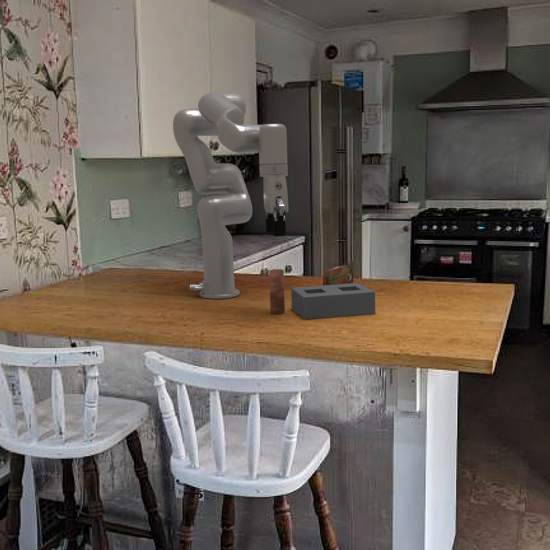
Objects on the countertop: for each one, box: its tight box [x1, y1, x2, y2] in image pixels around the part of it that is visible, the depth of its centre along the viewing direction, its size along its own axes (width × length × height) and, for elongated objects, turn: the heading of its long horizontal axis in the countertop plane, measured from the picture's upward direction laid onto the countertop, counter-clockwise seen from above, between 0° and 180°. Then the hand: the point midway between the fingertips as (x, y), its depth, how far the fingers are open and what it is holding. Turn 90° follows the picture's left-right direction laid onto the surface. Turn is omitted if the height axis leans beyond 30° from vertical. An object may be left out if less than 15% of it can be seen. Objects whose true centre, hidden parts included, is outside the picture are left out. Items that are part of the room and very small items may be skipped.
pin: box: [268, 268, 286, 315], centre depth 192 cm, size 4×4×12 cm
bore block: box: [290, 282, 376, 320], centre depth 193 cm, size 20×14×6 cm
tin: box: [322, 264, 354, 286], centre depth 217 cm, size 15×3×8 cm, turn 144°
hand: (275, 234), depth 189 cm, fingers open, 9 cm apart
